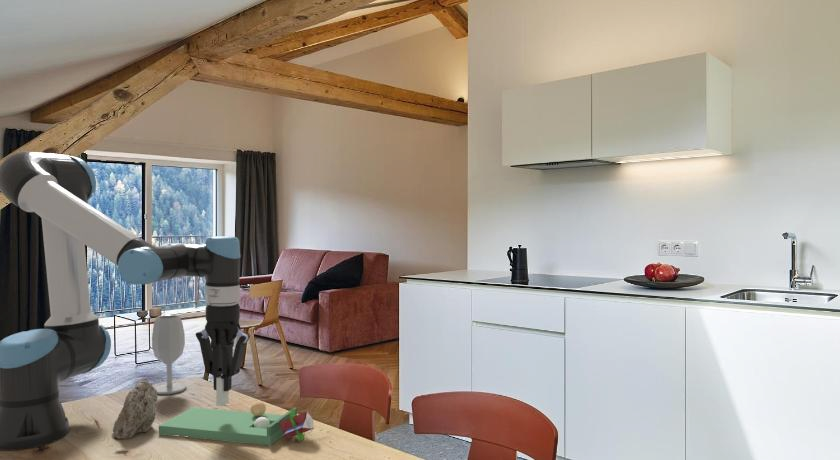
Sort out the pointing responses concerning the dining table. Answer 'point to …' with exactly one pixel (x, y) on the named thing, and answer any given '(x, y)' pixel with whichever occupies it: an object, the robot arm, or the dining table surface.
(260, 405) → the orange ball
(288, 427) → the geometric puzzle
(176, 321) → the wineglass
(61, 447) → the dining table surface
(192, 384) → the dining table surface
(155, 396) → the rock
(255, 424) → the white ball
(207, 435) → the putting mat
